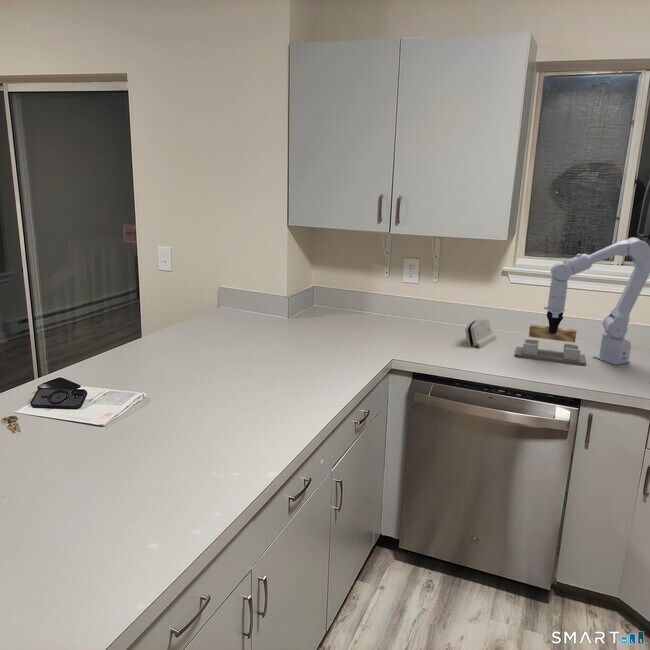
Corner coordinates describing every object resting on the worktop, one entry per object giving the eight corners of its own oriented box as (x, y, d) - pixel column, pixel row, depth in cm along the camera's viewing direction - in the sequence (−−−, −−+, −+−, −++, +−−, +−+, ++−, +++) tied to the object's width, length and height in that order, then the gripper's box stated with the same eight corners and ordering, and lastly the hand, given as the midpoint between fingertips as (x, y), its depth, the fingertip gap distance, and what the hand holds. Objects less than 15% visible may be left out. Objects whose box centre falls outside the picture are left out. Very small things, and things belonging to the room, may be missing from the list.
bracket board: (584, 357, 215) (586, 344, 214) (586, 365, 206) (587, 352, 205) (516, 348, 223) (517, 336, 222) (514, 356, 214) (516, 344, 213)
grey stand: (480, 348, 222) (473, 323, 222) (468, 350, 225) (462, 325, 225) (496, 339, 235) (491, 315, 235) (486, 340, 238) (480, 317, 238)
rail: (574, 340, 216) (576, 329, 215) (574, 342, 213) (576, 332, 212) (529, 334, 221) (530, 324, 220) (528, 336, 218) (530, 326, 217)
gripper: (546, 291, 220) (541, 326, 224) (545, 299, 207) (540, 335, 211) (566, 293, 218) (561, 328, 222) (566, 301, 205) (561, 338, 209)
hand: (552, 332), depth 216 cm, fingers closed on rail, 3 cm apart
